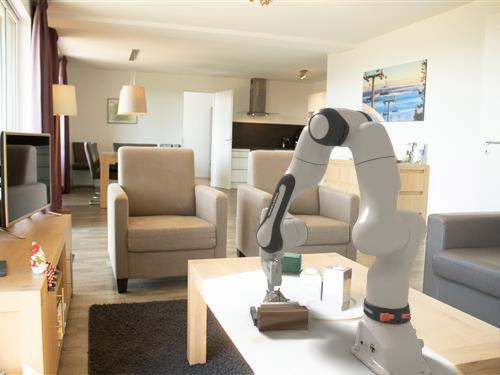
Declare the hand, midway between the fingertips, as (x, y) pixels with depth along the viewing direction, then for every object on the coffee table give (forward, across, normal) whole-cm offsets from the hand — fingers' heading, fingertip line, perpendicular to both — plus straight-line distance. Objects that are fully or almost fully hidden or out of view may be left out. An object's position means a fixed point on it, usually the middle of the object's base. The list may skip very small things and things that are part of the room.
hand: (270, 290), depth 161 cm
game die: (+5, -9, 0) cm, 10 cm away
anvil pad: (+5, -15, 0) cm, 16 cm away
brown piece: (+5, -16, 0) cm, 17 cm away
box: (+5, +38, -13) cm, 40 cm away
